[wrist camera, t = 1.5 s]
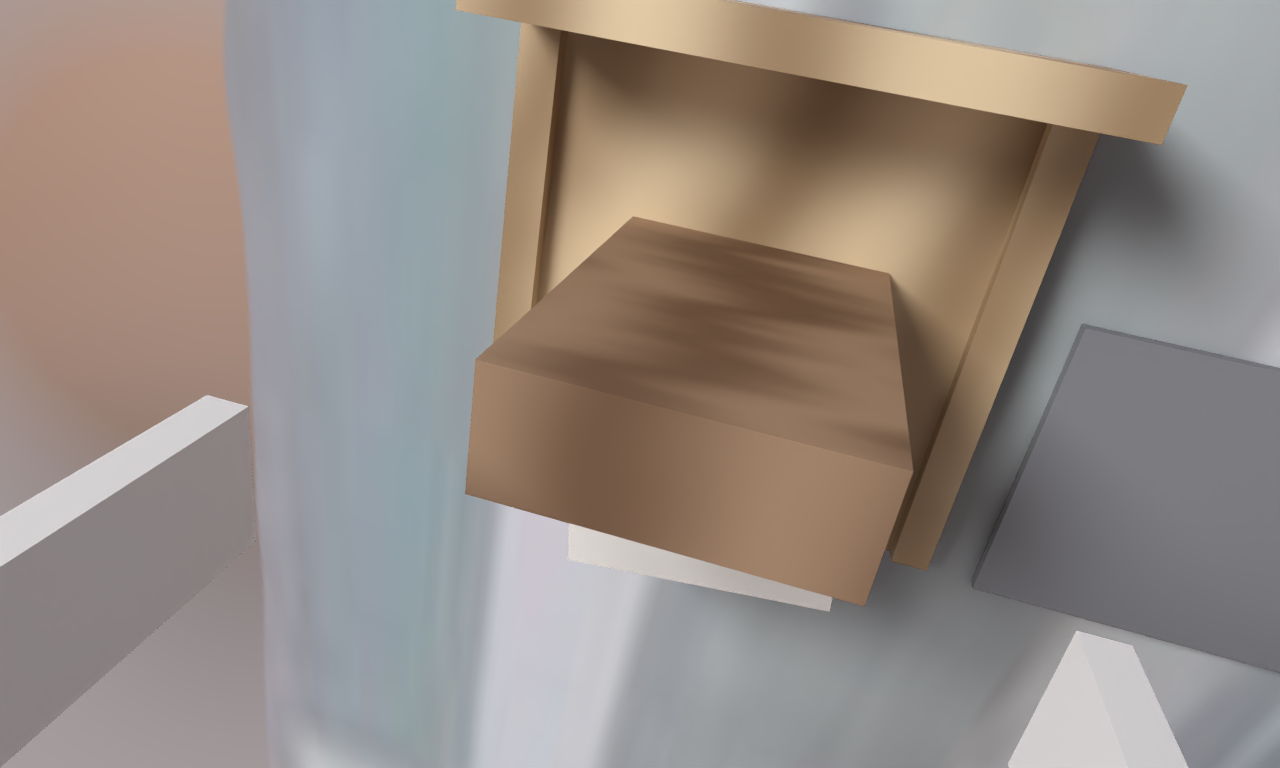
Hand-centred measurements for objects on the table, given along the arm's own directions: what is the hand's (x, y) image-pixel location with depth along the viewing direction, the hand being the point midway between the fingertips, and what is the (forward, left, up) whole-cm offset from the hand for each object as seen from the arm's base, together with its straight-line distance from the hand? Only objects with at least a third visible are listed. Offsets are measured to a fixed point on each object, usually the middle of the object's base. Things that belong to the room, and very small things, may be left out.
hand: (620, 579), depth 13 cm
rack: (0, 0, -16) cm, 16 cm away
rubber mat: (-17, +4, -16) cm, 24 cm away
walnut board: (0, 0, -15) cm, 15 cm away
